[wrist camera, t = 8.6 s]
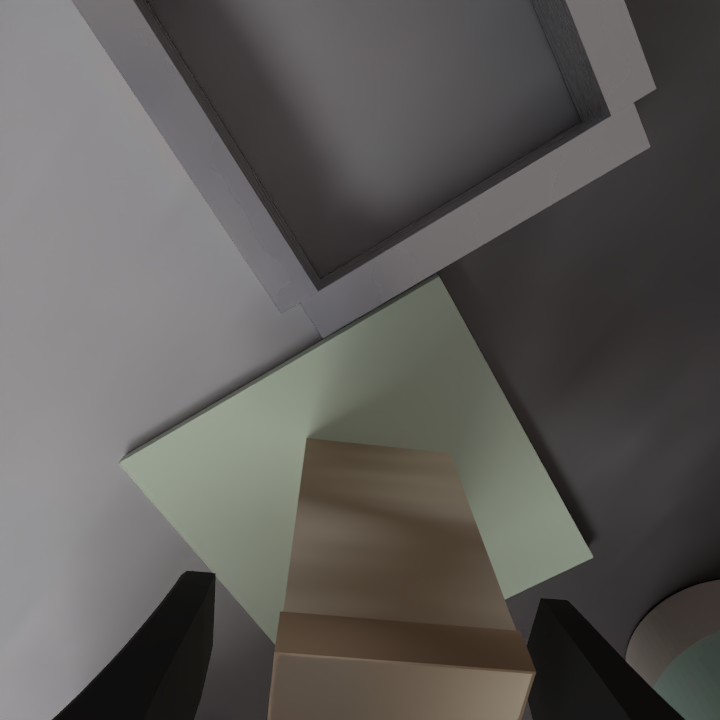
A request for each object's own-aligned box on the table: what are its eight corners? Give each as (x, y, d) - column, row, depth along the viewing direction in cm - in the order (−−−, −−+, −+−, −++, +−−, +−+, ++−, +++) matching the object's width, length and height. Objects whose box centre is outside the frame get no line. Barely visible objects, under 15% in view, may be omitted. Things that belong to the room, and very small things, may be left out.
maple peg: (290, 559, 16) (255, 828, 10) (304, 436, 15) (274, 652, 8) (426, 570, 16) (482, 840, 10) (451, 451, 15) (535, 671, 9)
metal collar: (72, -28, 11) (35, -55, 10) (460, -322, 10) (478, -401, 9) (308, 330, 14) (304, 348, 13) (636, 137, 13) (672, 133, 12)
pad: (123, 455, 15) (118, 463, 15) (436, 273, 14) (439, 276, 13) (314, 678, 18) (313, 689, 18) (587, 548, 17) (593, 557, 17)
